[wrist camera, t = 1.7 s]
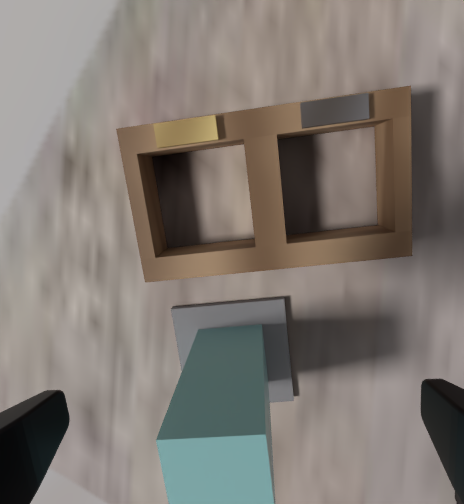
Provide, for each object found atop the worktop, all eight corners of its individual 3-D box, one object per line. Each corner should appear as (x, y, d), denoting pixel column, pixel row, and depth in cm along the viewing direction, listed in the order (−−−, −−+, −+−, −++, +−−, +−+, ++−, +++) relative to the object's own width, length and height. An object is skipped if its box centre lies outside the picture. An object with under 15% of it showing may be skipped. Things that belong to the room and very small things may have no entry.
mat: (283, 296, 20) (284, 299, 20) (293, 396, 22) (293, 400, 22) (172, 306, 21) (171, 309, 21) (189, 403, 23) (188, 407, 22)
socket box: (389, 98, 18) (414, 83, 15) (392, 245, 19) (416, 257, 16) (134, 134, 19) (112, 127, 16) (158, 269, 21) (142, 284, 18)
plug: (261, 324, 21) (265, 434, 12) (268, 381, 21) (276, 524, 13) (198, 329, 21) (156, 440, 12) (207, 385, 22) (173, 527, 13)
